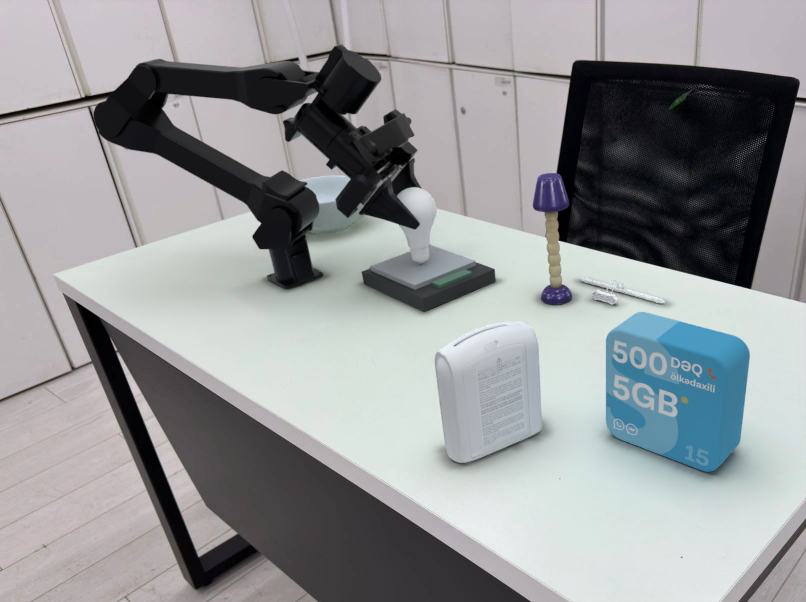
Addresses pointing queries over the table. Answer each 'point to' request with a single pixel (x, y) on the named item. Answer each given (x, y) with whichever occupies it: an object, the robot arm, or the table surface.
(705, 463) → the data package
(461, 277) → the scale
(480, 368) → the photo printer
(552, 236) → the toy lamp
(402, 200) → the lightbulb
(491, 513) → the table surface
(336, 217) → the cereal bowl
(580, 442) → the table surface
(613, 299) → the picture light
